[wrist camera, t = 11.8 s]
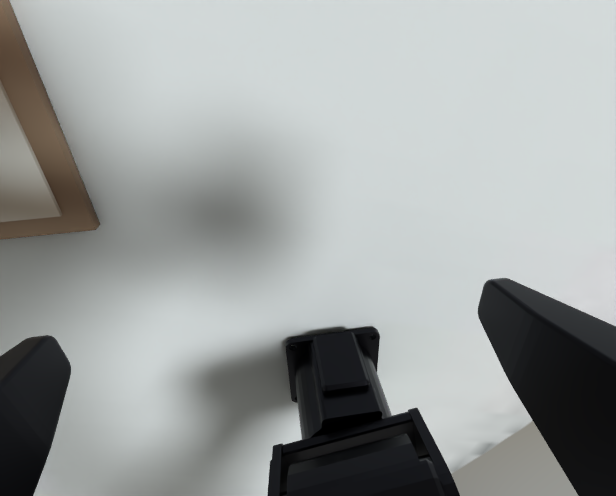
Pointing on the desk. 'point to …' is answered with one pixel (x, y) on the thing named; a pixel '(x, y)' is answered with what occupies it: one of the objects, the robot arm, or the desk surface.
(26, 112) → the clipboard
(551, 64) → the desk surface
